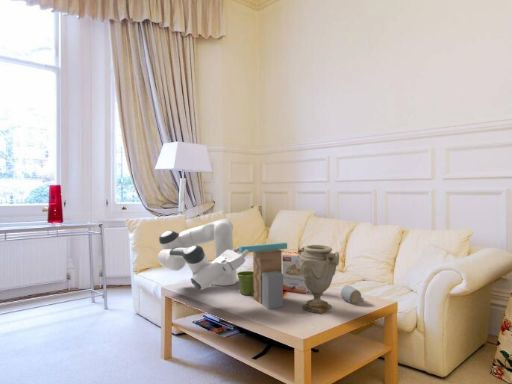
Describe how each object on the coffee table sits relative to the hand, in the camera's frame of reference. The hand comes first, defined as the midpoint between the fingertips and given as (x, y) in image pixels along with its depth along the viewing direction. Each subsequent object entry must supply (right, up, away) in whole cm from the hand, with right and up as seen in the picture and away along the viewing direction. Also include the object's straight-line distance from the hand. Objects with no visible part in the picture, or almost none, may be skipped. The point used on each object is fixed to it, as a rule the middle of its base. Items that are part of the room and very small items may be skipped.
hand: (244, 249), depth 185 cm
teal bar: (+10, -1, +5) cm, 11 cm away
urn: (+36, -27, -10) cm, 46 cm away
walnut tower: (+12, -27, +6) cm, 30 cm away
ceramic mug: (+55, -27, +1) cm, 62 cm away
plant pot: (+1, -27, +17) cm, 33 cm away
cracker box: (+28, -27, +21) cm, 44 cm away
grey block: (+14, -27, -4) cm, 31 cm away
